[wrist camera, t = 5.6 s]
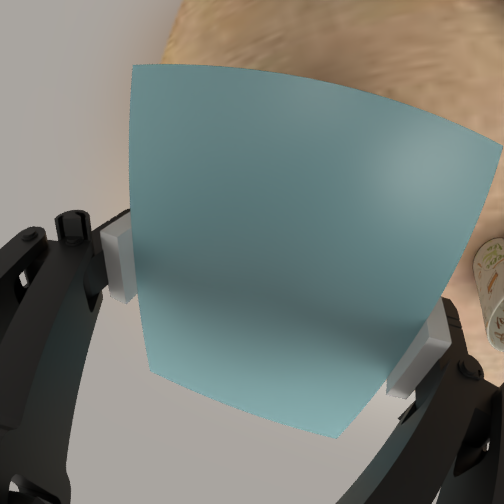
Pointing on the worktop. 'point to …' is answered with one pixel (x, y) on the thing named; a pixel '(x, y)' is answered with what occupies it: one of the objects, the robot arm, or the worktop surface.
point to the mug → (491, 289)
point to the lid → (291, 234)
